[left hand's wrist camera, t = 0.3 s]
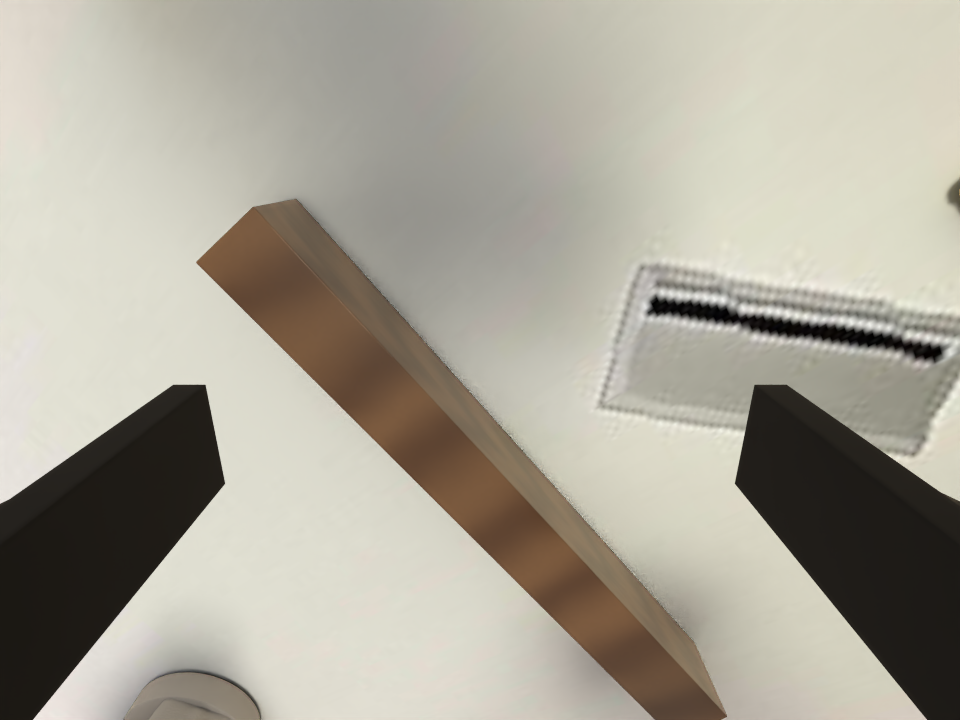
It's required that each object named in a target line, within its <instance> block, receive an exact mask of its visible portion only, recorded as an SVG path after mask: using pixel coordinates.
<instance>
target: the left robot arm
mask: <svg viewBox="0 0 960 720" xmlns="http://www.w3.org/2000/svg"><path fill="white" fill-rule="evenodd" d="M224 484H225V481H224V476H223V471H222V466H221V461H220V456H219V451H218V446H217V441H216V436H215V431H214V426H213V421H212V415H211V410H210V405H209V400H208V395H207V390H206V385H172V386H171V387H170V388H168V389H167V390H165V391H164V392H162V393H161V394H160V395H158V396H157V397H155V398H154V399H152V400H151V401H150V402H148V403H147V404H145V405H144V406H142V407H141V408H140V409H138V410H137V411H135V412H134V413H132V414H131V415H130V416H128V417H127V418H125V419H124V420H122V421H121V422H120V423H118V424H117V425H115V426H114V427H112V428H111V429H110V430H108V431H107V432H105V433H104V434H102V435H101V436H100V437H98V438H97V439H95V440H94V441H92V442H91V443H89V444H88V445H87V446H85V447H84V448H82V449H81V450H79V451H78V452H77V453H75V454H74V455H72V456H71V457H69V458H68V459H67V460H65V461H64V462H62V463H61V464H59V465H58V466H57V467H55V468H54V469H52V470H51V471H49V472H48V473H47V474H45V475H44V476H42V477H41V478H39V479H38V480H37V481H35V482H34V483H32V484H31V485H29V486H28V487H27V488H25V489H24V490H22V491H21V492H19V493H18V494H17V495H15V496H14V497H12V498H11V499H9V500H7V501H5V502H3V503H1V504H0V720H33V719H34V718H35V716H36V715H37V714H38V713H39V712H40V710H41V709H42V708H43V707H44V705H45V704H46V703H47V702H48V700H49V699H50V698H51V697H52V696H53V694H54V693H55V692H56V691H57V689H58V688H59V687H60V686H61V685H62V683H63V682H64V681H65V680H66V678H67V677H68V676H69V675H70V673H71V672H72V671H73V670H74V669H75V667H76V666H77V665H78V664H79V662H80V661H81V660H82V659H83V657H84V656H85V655H86V654H87V653H88V651H89V650H90V649H91V648H92V646H93V645H94V644H95V643H96V642H97V640H98V639H99V638H100V637H101V635H102V634H103V633H104V632H105V630H106V629H107V628H108V627H109V626H110V624H111V623H112V622H113V621H114V619H115V618H116V617H117V616H118V615H119V613H120V612H121V611H122V610H123V608H124V607H125V606H126V605H127V603H128V602H129V601H130V600H131V599H132V597H133V596H134V595H135V594H136V592H137V591H138V590H139V589H140V587H141V586H142V585H143V584H144V583H145V581H146V580H147V579H148V578H149V576H150V575H151V574H152V573H153V572H154V570H155V569H156V568H157V567H158V565H159V564H160V563H161V562H162V560H163V559H164V558H165V557H166V556H167V554H168V553H169V552H170V551H171V549H172V548H173V547H174V546H175V544H176V543H177V542H178V541H179V540H180V538H181V537H182V536H183V535H184V533H185V532H186V531H187V530H188V529H189V527H190V526H191V525H192V524H193V522H194V521H195V520H196V519H197V517H198V516H199V515H200V514H201V513H202V511H203V510H204V509H205V508H206V506H207V505H208V504H209V503H210V502H211V500H212V499H213V498H214V497H215V495H216V494H217V493H218V492H219V490H220V489H221V488H222V487H223V486H224ZM735 484H736V486H737V487H738V488H739V489H740V490H741V492H742V493H743V494H744V495H745V497H746V498H747V499H748V500H749V502H750V503H751V504H752V505H753V506H754V508H755V509H756V510H757V511H758V513H759V514H760V515H761V516H762V517H763V519H764V520H765V521H766V522H767V524H768V525H769V526H770V527H771V529H772V530H773V531H774V532H775V533H776V535H777V536H778V537H779V538H780V540H781V541H782V542H783V543H784V544H785V546H786V547H787V548H788V549H789V551H790V552H791V553H792V554H793V556H794V557H795V558H796V559H797V560H798V562H799V563H800V564H801V565H802V567H803V568H804V569H805V570H806V572H807V573H808V574H809V575H810V576H811V578H812V579H813V580H814V581H815V583H816V584H817V585H818V586H819V587H820V589H821V590H822V591H823V592H824V594H825V595H826V596H827V597H828V599H829V600H830V601H831V602H832V603H833V605H834V606H835V607H836V608H837V610H838V611H839V612H840V613H841V615H842V616H843V617H844V618H845V619H846V621H847V622H848V623H849V624H850V626H851V627H852V628H853V629H854V630H855V632H856V633H857V634H858V635H859V637H860V638H861V639H862V640H863V642H864V643H865V644H866V645H867V646H868V648H869V649H870V650H871V651H872V653H873V654H874V655H875V656H876V657H877V659H878V660H879V661H880V662H881V664H882V665H883V666H884V667H885V669H886V670H887V671H888V672H889V673H890V675H891V676H892V677H893V678H894V680H895V681H896V682H897V683H898V685H899V686H900V687H901V688H902V689H903V691H904V692H905V693H906V694H907V696H908V697H909V698H910V699H911V700H912V702H913V703H914V704H915V705H916V707H917V708H918V709H919V710H920V712H921V713H922V714H923V715H924V716H925V718H926V719H927V720H960V501H958V500H955V499H953V498H951V497H949V496H947V495H945V494H943V493H941V492H939V491H938V490H936V489H935V488H933V487H932V486H931V485H929V484H928V483H926V482H925V481H923V480H922V479H921V478H919V477H918V476H916V475H915V474H913V473H912V472H911V471H909V470H908V469H906V468H905V467H903V466H902V465H901V464H899V463H898V462H896V461H895V460H893V459H892V458H891V457H889V456H888V455H886V454H885V453H883V452H882V451H881V450H879V449H878V448H876V447H875V446H873V445H872V444H870V443H869V442H868V441H866V440H865V439H863V438H862V437H860V436H859V435H858V434H856V433H855V432H853V431H852V430H850V429H849V428H848V427H846V426H845V425H843V424H842V423H840V422H839V421H838V420H836V419H835V418H833V417H832V416H830V415H829V414H828V413H826V412H825V411H823V410H822V409H820V408H819V407H818V406H816V405H815V404H813V403H812V402H810V401H809V400H808V399H806V398H805V397H803V396H802V395H800V394H799V393H798V392H796V391H795V390H793V389H792V388H790V387H789V386H788V385H754V390H753V395H752V400H751V405H750V410H749V415H748V420H747V426H746V431H745V436H744V441H743V446H742V451H741V456H740V461H739V466H738V471H737V476H736V481H735Z"/></svg>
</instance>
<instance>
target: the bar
mask: <svg viewBox="0 0 960 720" xmlns="http://www.w3.org/2000/svg"><path fill="white" fill-rule="evenodd" d="M196 263H197V264H198V265H199V266H200V267H201V268H202V269H203V270H204V271H205V272H206V273H207V274H208V275H209V276H210V277H211V278H212V279H213V280H214V281H215V282H216V283H217V284H218V285H219V286H220V287H221V288H222V289H223V290H224V291H225V292H226V293H227V294H228V295H229V296H230V297H231V298H232V299H233V300H234V301H235V302H236V303H237V304H238V305H239V306H240V307H241V308H242V309H243V310H244V311H245V312H246V313H247V314H248V315H249V316H250V317H251V318H252V319H253V320H254V321H255V322H256V323H257V324H258V325H259V326H260V327H261V328H262V329H263V330H264V331H265V332H266V333H267V334H268V335H269V336H270V337H271V338H272V339H273V340H274V341H275V342H276V343H277V344H278V345H279V346H280V347H281V348H282V349H283V350H284V351H285V352H286V353H287V354H288V355H289V356H290V357H291V358H292V359H293V360H294V361H295V362H296V363H297V364H298V365H299V366H300V367H301V368H302V369H303V370H304V371H305V372H306V373H307V374H308V375H309V376H310V377H311V378H312V379H313V380H314V381H315V382H316V383H317V384H318V385H319V386H321V387H322V388H323V389H324V390H325V391H326V392H327V393H328V394H329V395H330V396H331V397H332V398H333V399H334V400H335V401H336V402H337V403H338V404H339V405H340V406H341V407H342V408H343V409H344V410H345V411H346V412H347V413H348V414H349V415H350V416H351V417H352V418H353V419H354V420H355V421H356V422H357V423H358V424H359V425H360V426H361V427H362V428H363V429H364V430H365V431H366V432H367V433H368V434H369V435H370V436H371V437H372V438H373V439H374V440H375V441H376V442H377V443H378V444H379V445H380V446H381V447H382V448H383V449H384V450H385V451H386V452H387V453H388V454H389V455H390V456H391V457H392V458H393V459H394V460H395V461H396V462H397V463H398V464H399V465H400V466H401V467H402V468H403V469H404V470H405V471H406V472H407V473H408V474H409V475H410V476H411V477H412V478H413V479H414V480H415V481H416V482H417V483H418V484H419V485H420V486H421V487H422V488H423V489H424V490H425V491H426V492H427V493H428V494H429V495H430V496H431V497H432V498H433V499H434V500H435V501H436V502H437V503H438V504H439V505H440V506H441V507H442V508H443V509H444V510H445V511H446V512H447V513H448V514H449V515H450V516H451V517H452V518H453V519H454V520H455V521H456V522H457V523H458V524H459V525H460V526H461V527H462V528H463V529H464V530H465V531H466V532H467V533H468V534H469V535H470V536H471V537H472V538H473V539H474V540H475V541H476V542H477V543H478V544H479V545H480V546H481V547H482V548H483V549H484V550H485V551H486V552H487V553H488V554H489V555H490V556H491V557H492V558H493V559H494V560H495V561H496V562H497V563H498V564H499V565H500V566H501V567H502V568H503V569H504V570H505V571H506V572H507V573H508V574H509V575H510V576H511V577H512V578H513V579H514V580H515V581H516V582H517V583H518V584H519V585H520V586H521V587H522V588H523V589H524V590H525V591H526V592H527V593H528V594H529V595H530V596H531V597H532V598H533V599H534V600H535V601H536V602H537V603H538V604H539V605H540V606H541V607H542V608H543V609H544V610H545V611H546V612H547V613H548V614H549V615H550V616H551V617H553V618H554V619H555V620H556V621H557V622H558V623H559V624H560V625H561V626H562V627H563V628H564V629H565V630H566V631H567V632H568V633H569V634H570V635H571V636H572V637H573V638H574V639H575V640H576V641H577V642H578V643H579V644H580V645H581V646H582V647H583V648H584V649H585V650H586V651H587V652H588V653H589V654H590V655H591V656H592V657H593V658H594V659H595V660H596V661H597V662H598V663H599V664H600V665H601V666H602V667H603V668H604V669H605V670H606V671H607V672H608V673H609V674H610V675H611V676H612V677H613V678H614V679H615V680H616V681H617V682H618V683H619V684H620V685H621V686H622V687H623V688H624V689H625V690H626V691H627V692H628V693H629V694H630V695H631V696H632V697H633V698H634V699H635V700H636V701H637V702H638V703H639V704H640V705H641V706H642V707H643V708H644V709H645V710H646V711H647V712H648V713H649V714H650V715H651V716H652V717H653V718H654V719H655V720H721V719H723V718H725V717H727V715H726V712H725V710H724V708H723V706H722V703H721V701H720V699H719V697H718V694H717V692H716V690H715V688H714V686H713V683H712V681H711V679H710V677H709V674H708V672H707V670H706V668H705V665H704V663H703V661H702V659H701V656H700V654H699V652H698V650H697V647H696V645H695V643H694V642H693V641H692V640H691V639H690V637H689V636H688V635H687V634H686V633H685V632H684V631H683V630H682V629H681V627H680V626H679V625H678V624H677V623H676V622H675V621H674V620H673V619H672V617H671V616H670V615H669V614H668V613H667V612H666V611H665V610H664V608H663V607H662V606H661V605H660V604H659V603H658V602H657V601H656V600H655V598H654V597H653V596H652V595H651V594H650V593H649V592H648V591H647V590H646V588H645V587H644V586H643V585H642V584H641V583H640V582H639V581H638V580H637V578H636V577H635V576H634V575H633V574H632V573H631V572H630V571H629V569H628V568H627V567H626V566H625V565H624V564H623V563H622V562H621V561H620V559H619V558H618V557H617V556H616V555H615V554H614V553H613V552H612V551H611V549H610V548H609V547H608V546H607V545H606V544H605V543H604V542H603V540H602V539H601V538H600V537H599V536H598V535H597V534H596V533H595V532H594V530H593V529H592V528H591V527H590V526H589V525H588V524H587V523H586V522H585V520H584V519H583V518H582V517H581V516H580V515H579V514H578V513H577V512H576V510H575V509H574V508H573V507H572V506H571V505H570V504H569V503H568V501H567V500H566V499H565V498H564V497H563V496H562V495H561V494H560V493H559V491H558V490H557V489H556V488H555V487H554V486H553V485H552V484H551V483H550V481H549V480H548V479H547V478H546V477H545V476H544V475H543V474H542V472H541V471H540V470H539V469H538V468H537V467H536V466H535V465H534V464H533V462H532V461H531V460H530V459H529V458H528V457H527V456H526V455H525V454H524V452H523V451H522V450H521V449H520V448H519V447H518V446H517V445H516V444H515V442H514V441H513V440H512V439H511V438H510V437H509V436H508V435H507V433H506V432H505V431H504V430H503V429H502V428H501V427H500V426H499V425H498V423H497V422H496V421H495V420H494V419H493V418H492V417H491V416H490V415H489V413H488V412H487V411H486V410H485V409H484V408H483V407H482V406H481V405H480V403H479V402H478V401H477V400H476V399H475V398H474V397H473V396H472V394H471V393H470V392H469V391H468V390H467V389H466V388H465V387H464V386H463V384H462V383H461V382H460V381H459V380H458V379H457V378H456V377H455V376H454V374H453V373H452V372H451V371H450V370H449V369H448V368H447V367H446V365H445V364H444V363H443V362H442V361H441V360H440V359H439V358H438V357H437V355H436V354H435V353H434V352H433V351H432V350H431V349H430V348H429V347H428V345H427V344H426V343H425V342H424V341H423V340H422V339H421V338H420V337H419V335H418V334H417V333H416V332H415V331H414V330H413V329H412V328H411V326H410V325H409V324H408V323H407V322H406V321H405V320H404V319H403V318H402V316H401V315H400V314H399V313H398V312H397V311H396V310H395V309H394V308H393V306H392V305H391V304H390V303H389V302H388V301H387V300H386V299H385V298H384V296H383V295H382V294H381V293H380V292H379V291H378V290H377V289H376V287H375V286H374V285H373V284H372V283H371V282H370V281H369V280H368V279H367V277H366V276H365V275H364V274H363V273H362V272H361V271H360V270H359V269H358V267H357V266H356V265H355V264H354V263H353V262H352V261H351V260H350V258H349V257H348V256H347V255H346V254H345V253H344V252H343V251H342V250H341V248H340V247H339V246H338V245H337V244H336V243H335V242H334V241H333V240H332V238H331V237H330V236H329V235H328V234H327V233H326V232H325V231H324V230H323V228H322V227H321V226H320V225H319V224H318V223H317V222H316V221H315V219H314V218H313V217H312V216H311V215H310V214H309V213H308V212H307V211H306V209H305V208H304V207H303V206H302V205H301V204H300V203H299V202H298V201H297V199H294V200H288V201H283V202H277V203H272V204H267V205H261V206H256V207H252V208H251V209H250V210H249V211H248V212H247V213H246V214H245V215H244V216H243V217H242V218H241V219H240V220H239V221H238V222H237V223H236V224H235V225H234V226H233V227H232V228H231V229H230V230H229V231H228V232H227V233H226V234H225V235H224V236H222V237H221V238H220V239H219V240H218V241H217V242H216V243H215V244H214V245H213V246H212V247H211V248H210V249H209V250H208V251H207V252H206V253H205V254H204V255H203V256H202V257H201V258H200V259H199V260H198V261H197V262H196Z"/></svg>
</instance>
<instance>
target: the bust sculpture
mask: <svg viewBox="0 0 960 720" xmlns="http://www.w3.org/2000/svg"><path fill="white" fill-rule="evenodd" d="M123 720H260V716H259V713H258V710H257V708H256V706H255V704H254V703H253V701H252V700H251V699H250V698H249V697H248V696H247V695H246V694H245V693H244V692H243V691H242V690H240V689H239V688H237V687H236V686H234V685H233V684H231V683H229V682H227V681H225V680H223V679H220V678H217V677H214V676H211V675H206V674H201V673H191V672H183V673H173V674H168V675H165V676H162V677H159V678H157V679H155V680H153V681H152V682H150V683H149V684H148V685H146V686H145V687H144V688H143V690H142V691H141V693H140V694H139V696H138V697H137V699H136V700H135V702H134V703H133V705H132V706H131V708H130V710H129V711H128V713H127V714H126V716H125V717H124V719H123Z"/></svg>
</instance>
